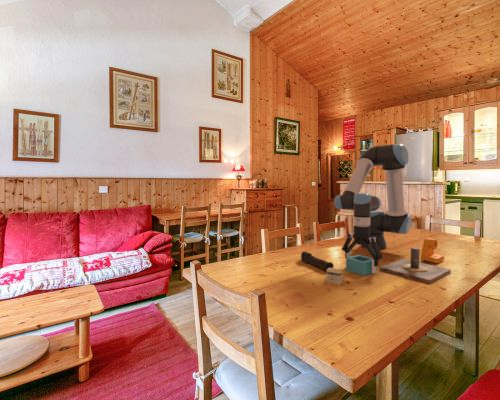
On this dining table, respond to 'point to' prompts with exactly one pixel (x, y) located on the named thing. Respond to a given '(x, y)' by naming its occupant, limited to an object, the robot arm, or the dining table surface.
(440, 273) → the post base
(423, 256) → the bracket
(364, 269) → the collar
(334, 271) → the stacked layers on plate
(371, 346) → the dining table surface
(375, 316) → the dining table surface
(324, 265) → the hand tool
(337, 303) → the dining table surface
